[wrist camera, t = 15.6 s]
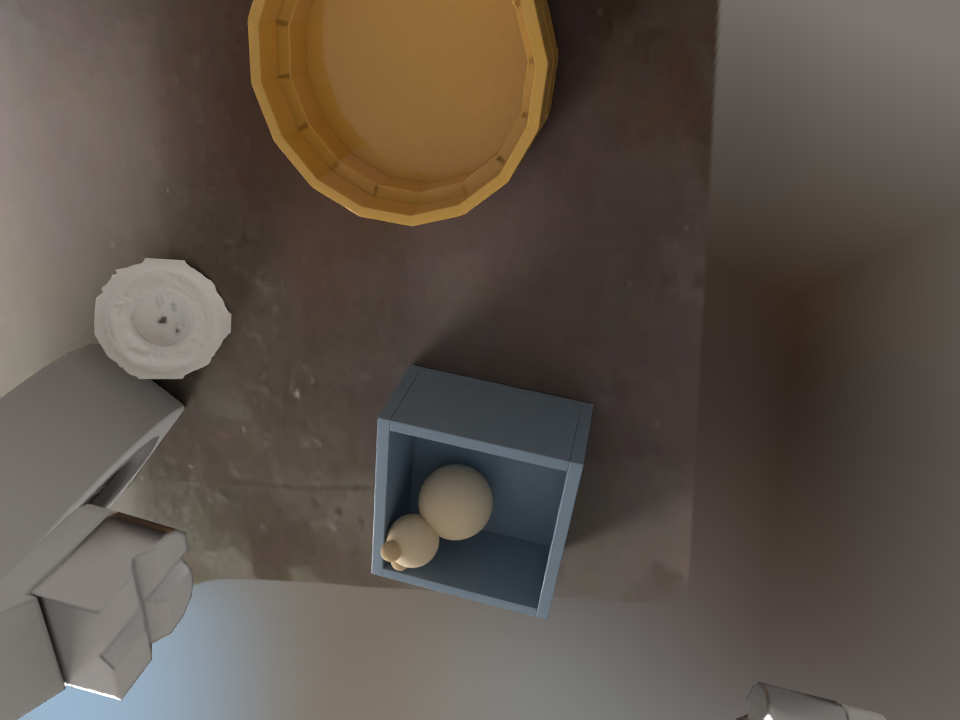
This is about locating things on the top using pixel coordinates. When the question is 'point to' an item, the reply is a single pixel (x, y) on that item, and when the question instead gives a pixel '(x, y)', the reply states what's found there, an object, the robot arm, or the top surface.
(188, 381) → the top surface
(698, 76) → the top surface
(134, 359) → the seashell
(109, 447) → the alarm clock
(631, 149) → the top surface
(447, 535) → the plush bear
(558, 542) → the bin
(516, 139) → the bowl
